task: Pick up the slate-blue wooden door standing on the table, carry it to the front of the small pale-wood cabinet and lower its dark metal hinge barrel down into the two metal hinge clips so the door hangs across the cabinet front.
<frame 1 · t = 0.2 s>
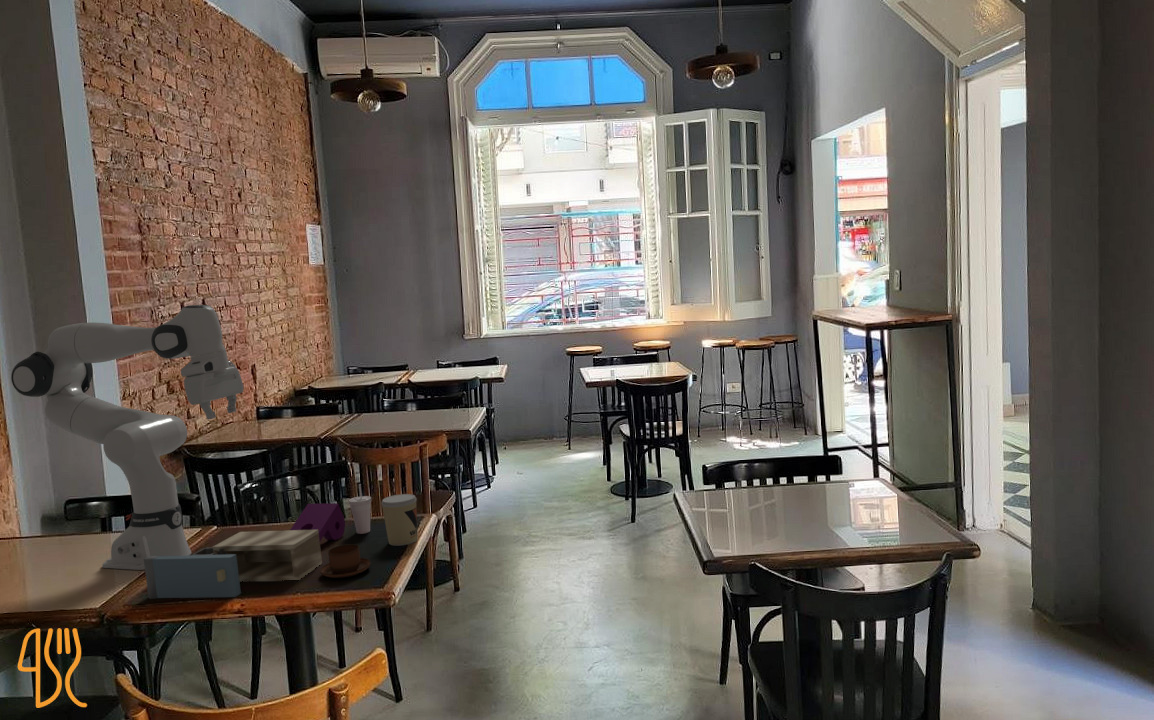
hand: (222, 415, 227), 39 cm above the table, tool pointing down, fingers open, 8 cm apart
coffee cup: (403, 541, 232), on the table
cabinet: (270, 572, 215), on the table
cup and saucer: (346, 574, 210), on the table
smoothie: (363, 532, 245), on the table
mounting bracket: (313, 546, 236), on the table
door: (198, 595, 202), on the table
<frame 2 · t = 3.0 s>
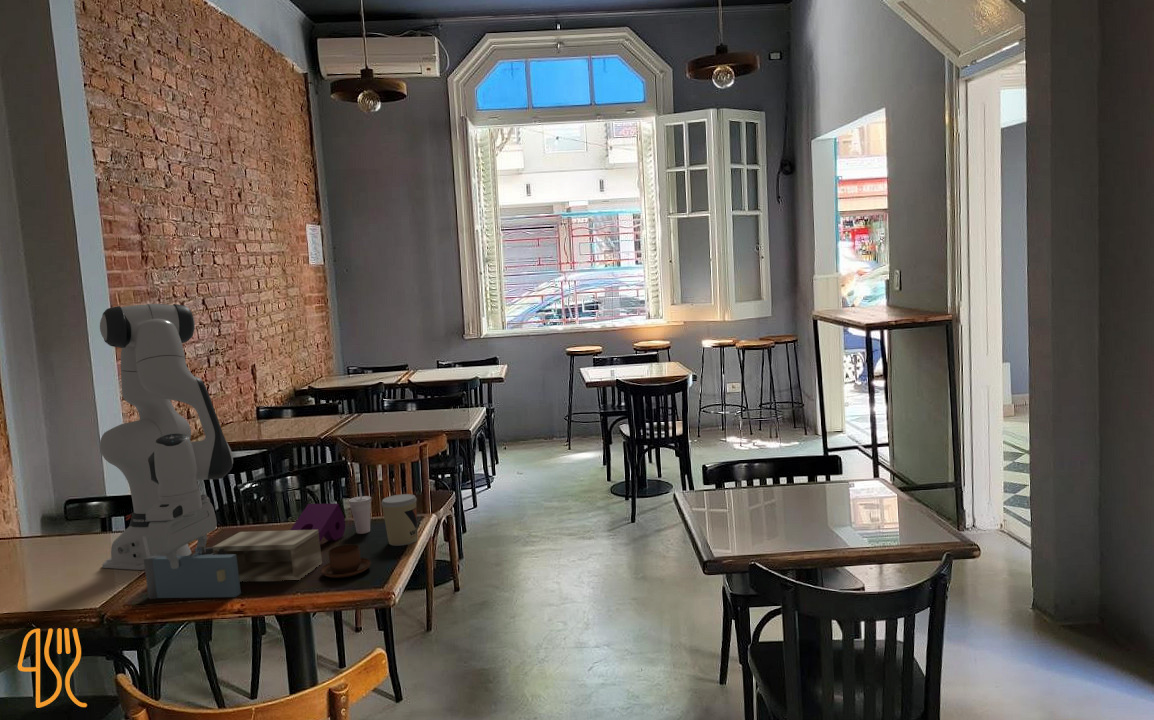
hand: (188, 560, 201), 9 cm above the table, tool pointing down, fingers open, 8 cm apart
nothing on the table moved.
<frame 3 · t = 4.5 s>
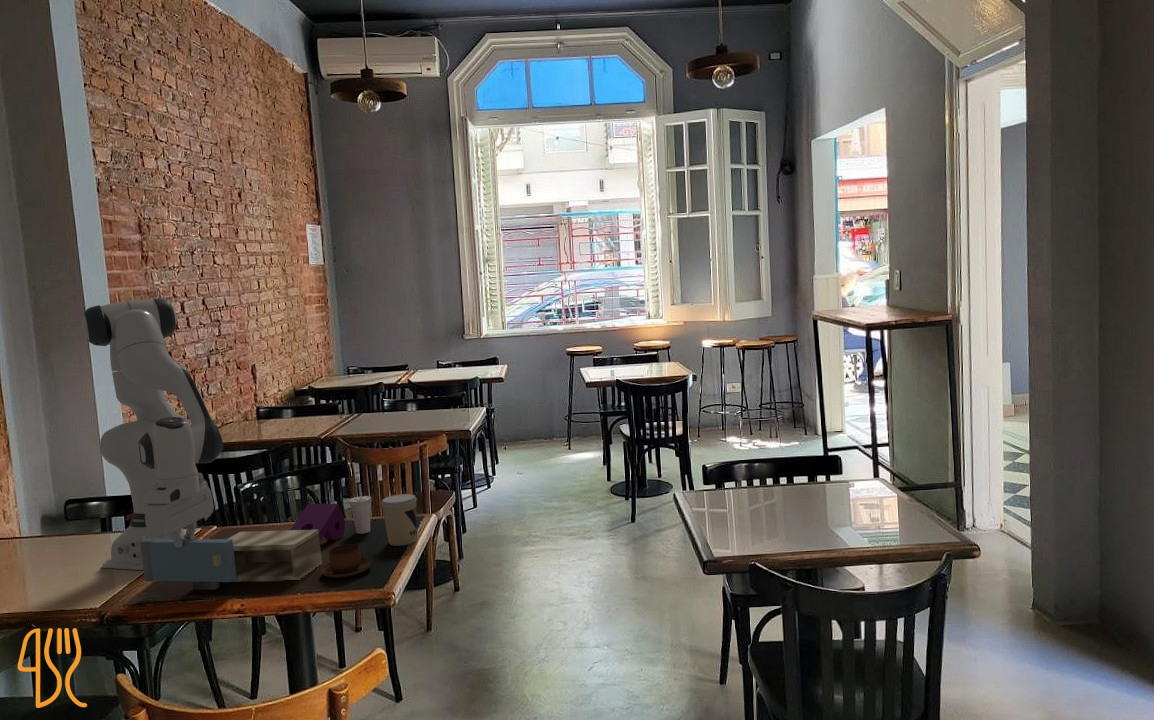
hand: (184, 544, 202), 12 cm above the table, tool pointing down, fingers closed on door, 2 cm apart
door: (193, 579, 202), point 4 cm above the table, touching gripper
everything else where it was.
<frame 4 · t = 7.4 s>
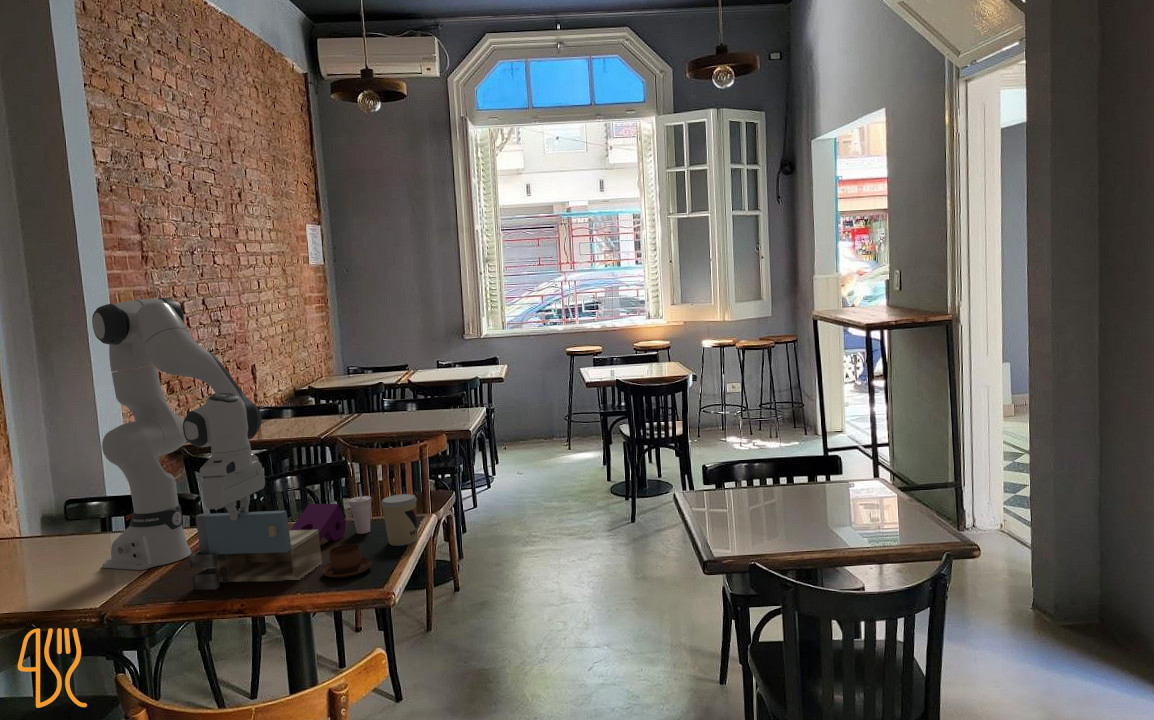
hand: (239, 517, 206), 17 cm above the table, tool pointing down, fingers closed on door, 2 cm apart
door: (249, 551, 206), point 8 cm above the table, touching gripper
everything else where it was.
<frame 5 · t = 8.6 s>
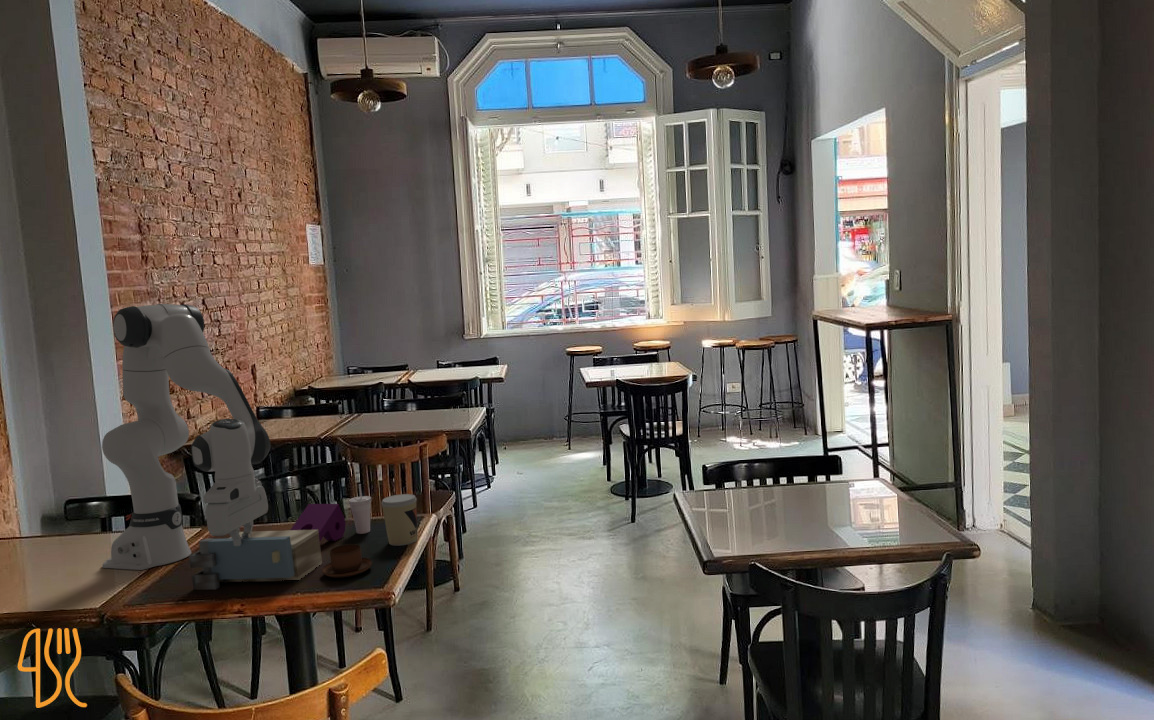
hand: (243, 542, 206), 10 cm above the table, tool pointing down, fingers closed on door, 2 cm apart
door: (252, 577, 207), point 2 cm above the table, touching gripper
everything else where it was.
when the fingers open (10 cm above the table, at t = 9.1 s): door stays where it is, on the table.
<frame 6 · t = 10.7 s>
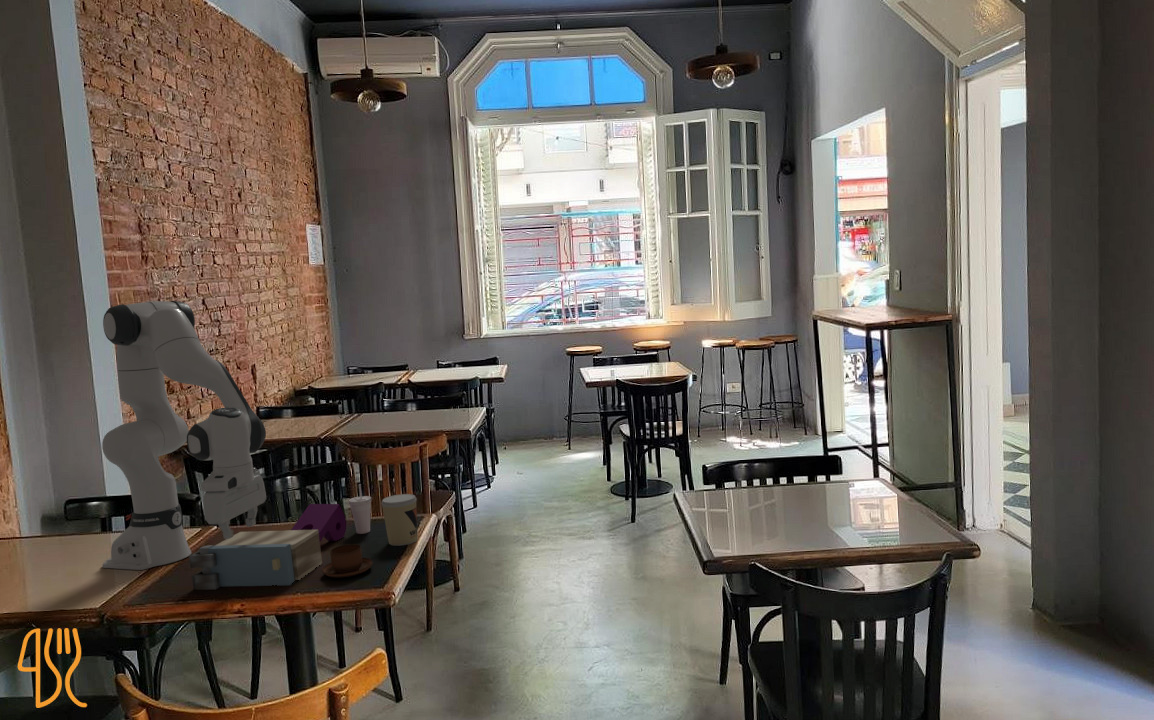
hand: (240, 531, 206), 13 cm above the table, tool pointing down, fingers open, 8 cm apart
door: (252, 584, 207), on the table
everything else where it was.
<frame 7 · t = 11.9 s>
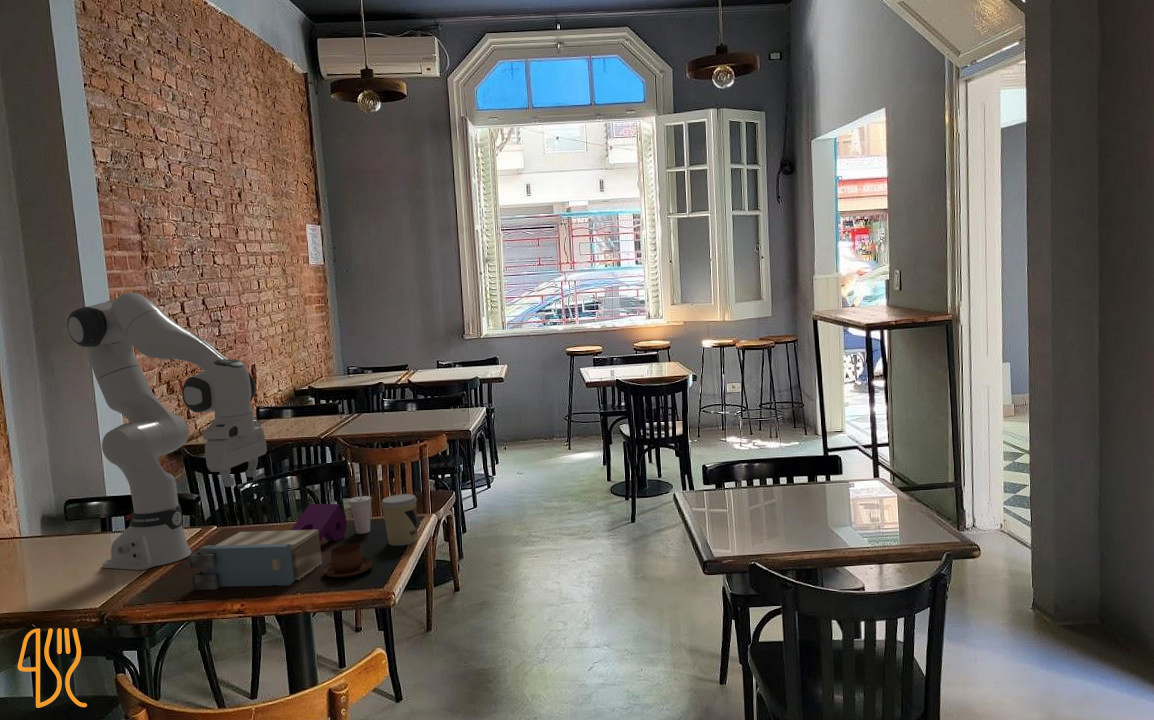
hand: (240, 481, 210), 24 cm above the table, tool pointing down, fingers open, 8 cm apart
nothing on the table moved.
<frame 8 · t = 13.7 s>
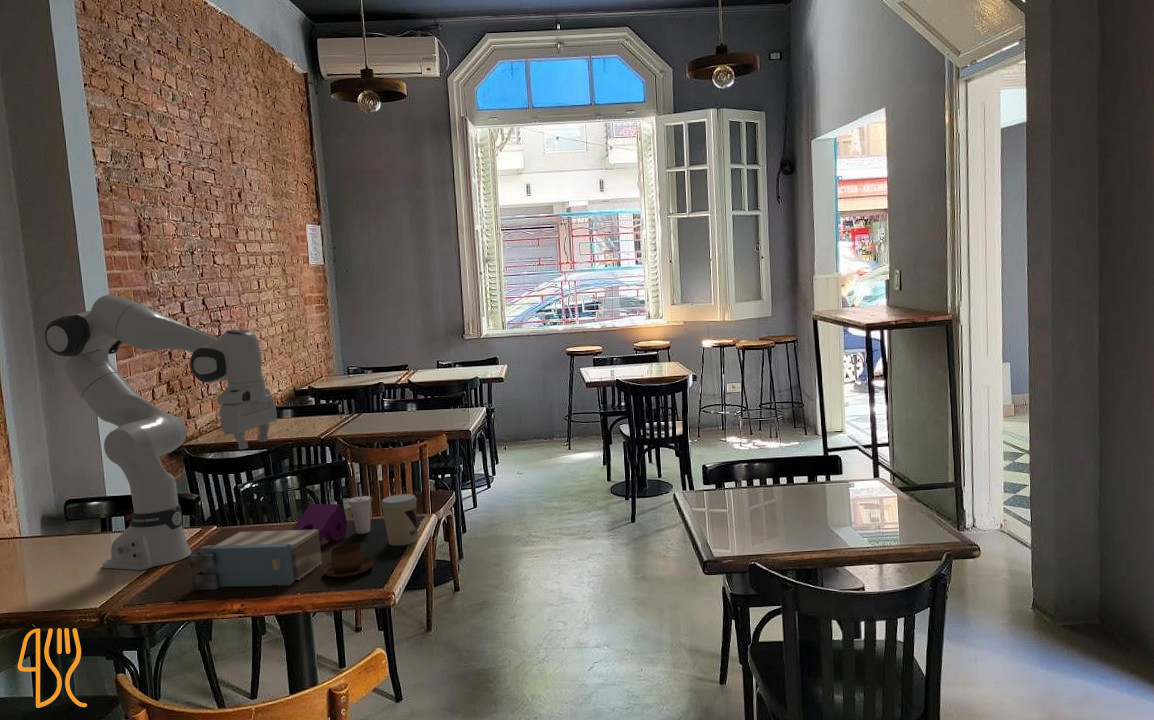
hand: (253, 445, 222), 31 cm above the table, tool pointing down, fingers open, 8 cm apart
nothing on the table moved.
at the end: door 0.4 cm from the target spot, on the table; door tilted 0°; the gripper is holding nothing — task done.
